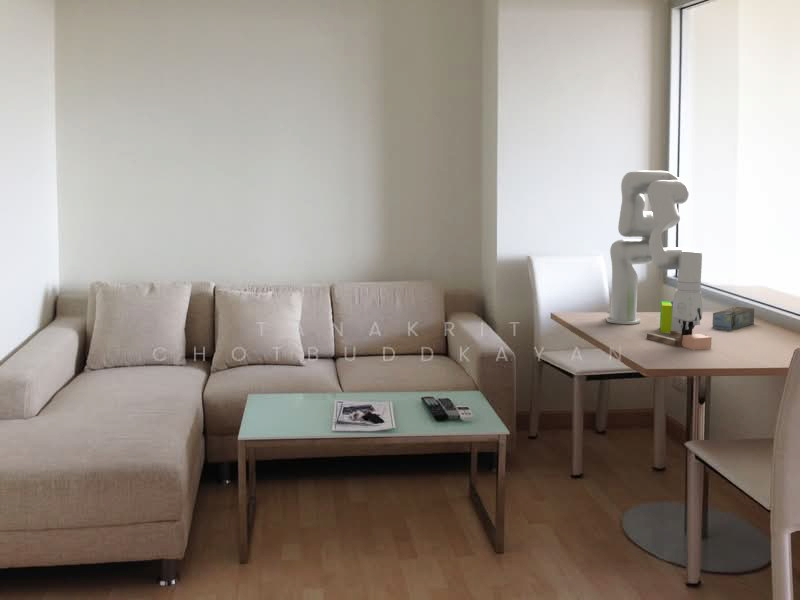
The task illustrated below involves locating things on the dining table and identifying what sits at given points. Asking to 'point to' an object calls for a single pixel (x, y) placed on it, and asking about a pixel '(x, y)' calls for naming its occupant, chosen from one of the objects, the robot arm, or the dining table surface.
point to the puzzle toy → (668, 319)
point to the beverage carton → (733, 318)
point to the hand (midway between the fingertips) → (686, 340)
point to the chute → (675, 342)
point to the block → (696, 341)
